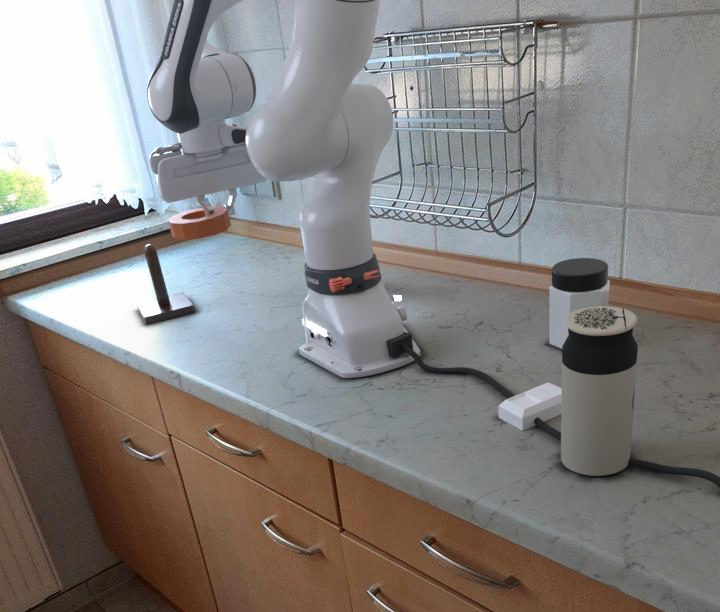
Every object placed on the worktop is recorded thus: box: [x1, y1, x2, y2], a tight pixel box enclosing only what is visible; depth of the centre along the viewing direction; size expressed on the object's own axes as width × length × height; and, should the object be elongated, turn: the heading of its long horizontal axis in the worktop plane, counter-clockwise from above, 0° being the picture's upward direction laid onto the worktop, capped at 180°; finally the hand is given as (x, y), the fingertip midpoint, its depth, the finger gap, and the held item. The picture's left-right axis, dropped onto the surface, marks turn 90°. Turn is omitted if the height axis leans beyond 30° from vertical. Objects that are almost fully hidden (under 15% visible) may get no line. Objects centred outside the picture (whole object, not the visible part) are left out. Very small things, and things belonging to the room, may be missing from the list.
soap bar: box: [497, 382, 562, 432], centre depth 106 cm, size 5×9×3 cm, turn 120°
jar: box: [548, 257, 611, 350], centre depth 121 cm, size 9×8×12 cm
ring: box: [167, 206, 232, 241], centre depth 148 cm, size 11×11×3 cm
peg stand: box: [136, 243, 196, 325], centre depth 158 cm, size 10×10×14 cm
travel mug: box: [560, 305, 639, 477], centre depth 90 cm, size 8×8×18 cm
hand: (221, 216), depth 149 cm, fingers closed on ring, 2 cm apart
